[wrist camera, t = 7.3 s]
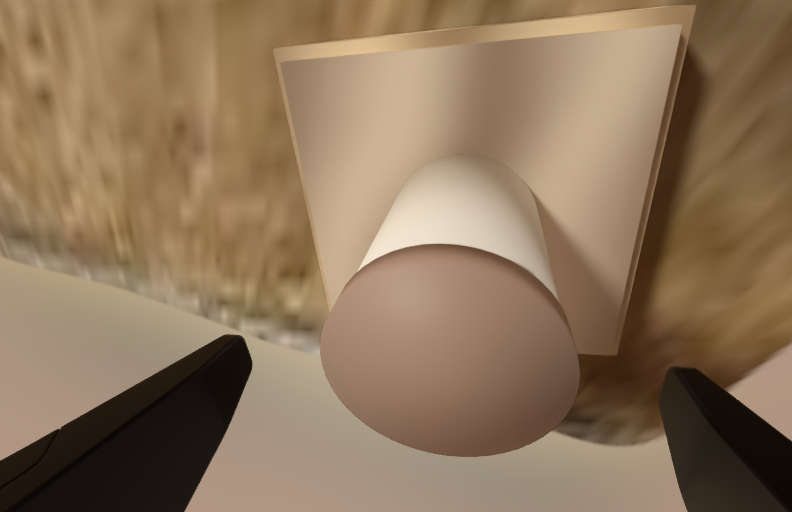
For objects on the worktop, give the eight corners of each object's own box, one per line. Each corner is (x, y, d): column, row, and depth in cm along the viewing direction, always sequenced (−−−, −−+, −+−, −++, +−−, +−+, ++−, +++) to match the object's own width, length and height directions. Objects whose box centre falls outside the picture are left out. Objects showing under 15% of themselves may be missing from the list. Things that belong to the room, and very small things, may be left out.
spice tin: (547, 147, 12) (599, 268, 6) (535, 288, 15) (564, 470, 9) (382, 154, 14) (296, 262, 8) (397, 284, 16) (341, 442, 10)
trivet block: (662, 6, 13) (705, 4, 10) (603, 316, 18) (620, 364, 16) (303, 43, 15) (265, 49, 13) (350, 303, 21) (330, 342, 19)
